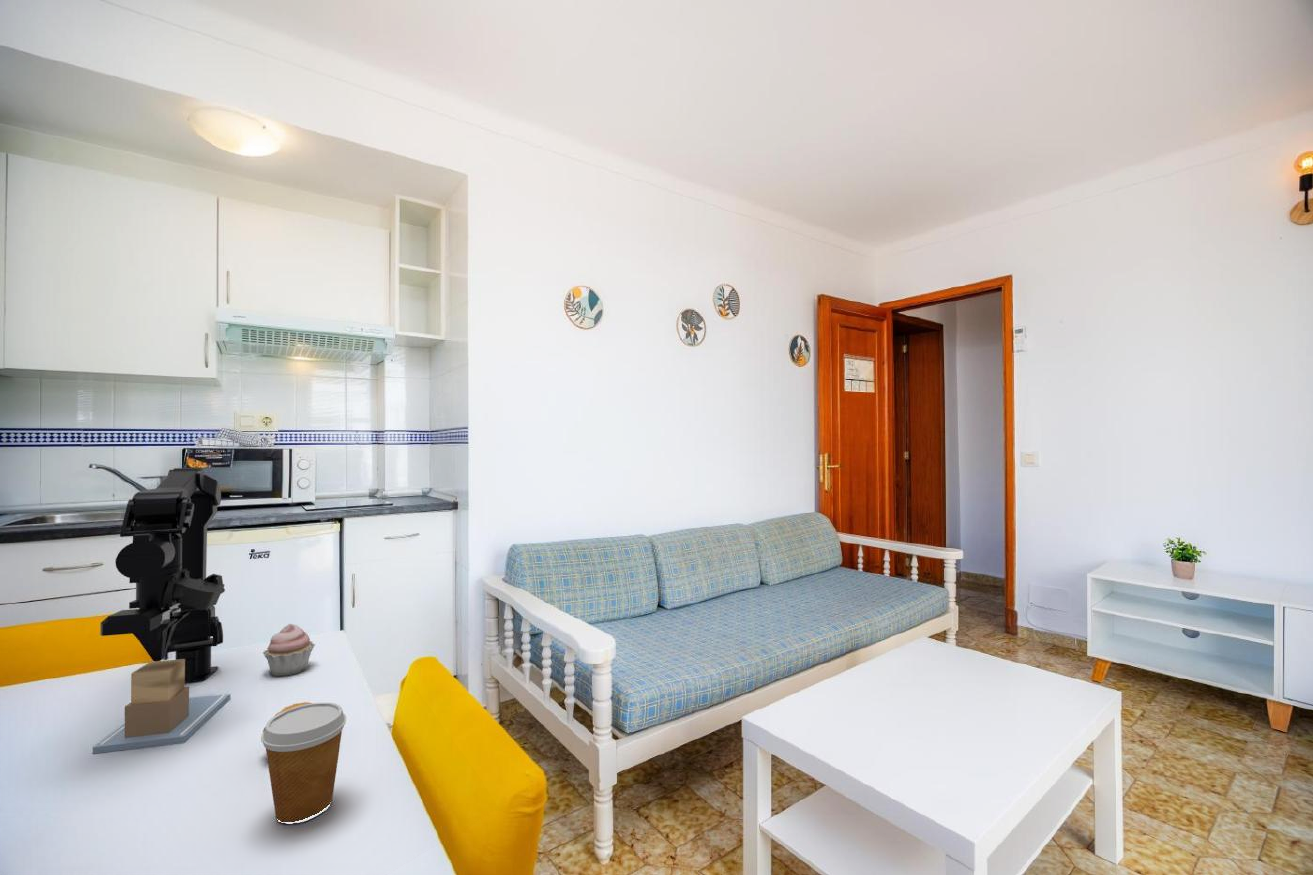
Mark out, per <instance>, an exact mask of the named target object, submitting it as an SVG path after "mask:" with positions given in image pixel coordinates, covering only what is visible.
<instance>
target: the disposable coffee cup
mask: <svg viewBox="0 0 1313 875" xmlns="http://www.w3.org/2000/svg"><path fill="white" fill-rule="evenodd" d="M311 703H312V704H306V705H301V706H298V707H294V708H291V709H289V710H286V711H283V712H281V713H279V714H277V713H276V714H277V715H276V714H275V715H276V716H275V715H274V716H273V717H271V718H270V719H269V720H268V721H267V722H266V725H265V726H264V728H265V731H264V732H263V731H262V734H261V736H260V740H261V742H262V744H263V747H264V748H265V751H266V752H265V753H266V758H267V760H266V761H267V765H268V766H267V767H268V773H269V779H270V787H271V793H272V800H273V807H274V814H275V819H276V818H277V819H278V820H280V821H281V822H295V821H299V820H303V819H305V818H308V817H310V816H312V815H315V814H317V813H319V812H320V811H322V810H323V809H324V808H326V807H327V806H328V805H329V804H330V802H331V801H332V802H333V798H334V789H335V783H336V776H337V770H338V762H339V755H340V754H339V753H340V748H341V740H342V734H343V729H344V727H345V725H346V722H347V715H346V714H345V713H344V711H343V710H344V709H343V707H342V706H341V705H340V704H338V703H335V702H311Z"/></svg>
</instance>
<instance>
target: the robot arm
mask: <svg viewBox="0 0 1313 875" xmlns="http://www.w3.org/2000/svg"><path fill="white" fill-rule="evenodd" d="M221 501H222V491H221V488H220V485H219V482H218V480H216V479H215V478H213V477H210V476H209V475H206V474H205V472H204V470H203V468H198V467H175V468H173V469H169V470H168V472H167V476H166V477H165V478H164V480H162V481H161V483H160V484H159V485H158V486H157V487H156V488H152V489H142V490H140V491H138V492H136V493H134V495H133V496H132V498H131V499H128V501H127V504H126V508H125V511H124V512H125V513H124V517H123V520H122V525H121V529H120V532H119V536H120V537H121V538H124V537H127V538H128V537H132V542H131V543H129V544H127V545H125V546H124V547H123V548H122V549H120V551H119V552H118V554H117V556H116V557H115V567H116V569H117V571H118V572H119V573H120V574H121V575H122V576H123V577H126V578H129V581H128V582H129V584H135V599H134V600H132V601H130V602H128V604H129V606H128V609H121V610H118V611H117V612H115V613H113V614H111V615H108V616H107V617H106V618H105V619H103V620H102V621H101V622H100V628H99V629H100V636H101V637H107V636H116V635H117V636H119V635H130V634H132V635H133V636H134V637H135V638H136V639H137V641H138V642H139V643H140V645H141V646H142V647H143V649H144V650H145V651H146V653H147V654H148V656H149V657H150V658H151V660H152V662H155V661H163V660H164V659H165V657H166V655H167V654H169V653H174V652H175V657H174V660H178V659H185V683H191V682H200V681H205V680H207V679H208V678H209V677H210V676H211V675H212V674H214V673H215V672H216V671H218V670H219V666H217V665H216V666H212V647H217V646H218V645H220V644H223V643H224V632H223V624H222V622H221V621H220V619H219V618H220V617H219V616H216V606H215V605H217V603H218V601H219V598H220V597H221V594H223V593H225V591H226V590H225V584H224V583H223V582H224V581H223V576H222V575H220V574H215V573H212V574H210V575H207V558H208V557H207V556H208V555H207V553H208V552H207V550H208V525H210V523H211V522H212V520H213V519H214V518H215V516H216V515H217V513H218V506H220V505H221Z"/></svg>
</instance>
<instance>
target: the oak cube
mask: <svg viewBox="0 0 1313 875" xmlns="http://www.w3.org/2000/svg"><path fill="white" fill-rule="evenodd" d="M130 674H131V678H130V680H131V681H130V682H131V683H130V686H131V687H130V703H131V705H133V704H143V703H152V702H162V701H169V700H170V699H171V698H172V697H174V696H175V695H176V694H178V693H179V692H180V691H181V690H183V689H184V688H185V687H186V682H185V659H178V660H175V659H169V660H161V661H150V662H148V663H146V664H145V665H142V666H141V667H140V668H138V669H136V670H135V671H133V672H131V673H130Z"/></svg>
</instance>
